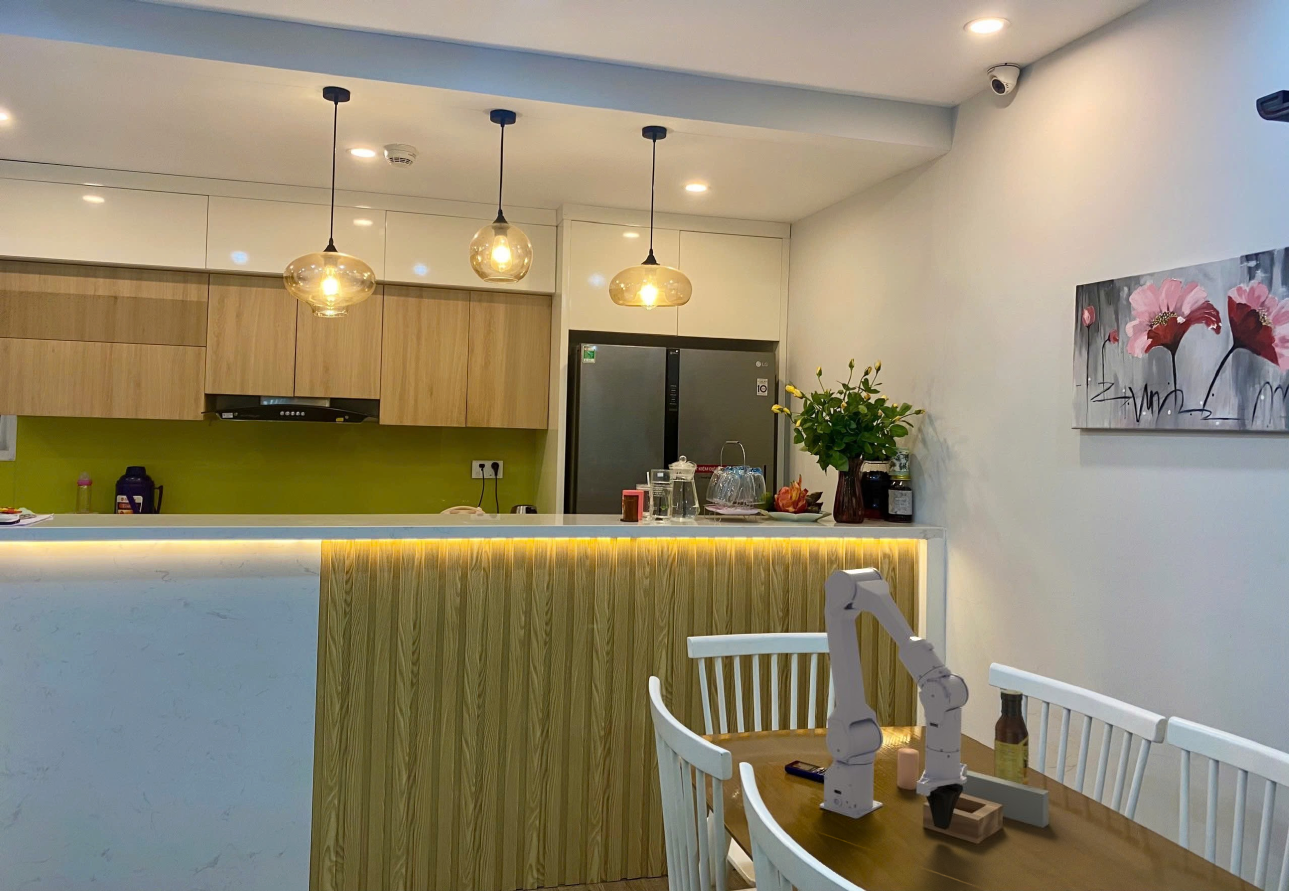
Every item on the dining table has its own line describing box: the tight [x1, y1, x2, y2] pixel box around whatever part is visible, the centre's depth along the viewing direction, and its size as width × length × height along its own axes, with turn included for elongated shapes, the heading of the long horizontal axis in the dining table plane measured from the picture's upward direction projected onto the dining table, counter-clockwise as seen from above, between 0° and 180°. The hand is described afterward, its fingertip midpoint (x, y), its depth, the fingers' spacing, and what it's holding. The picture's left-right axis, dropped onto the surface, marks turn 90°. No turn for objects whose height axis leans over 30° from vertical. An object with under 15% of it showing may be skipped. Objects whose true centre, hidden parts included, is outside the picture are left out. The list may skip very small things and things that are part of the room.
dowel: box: [896, 747, 920, 791], centre depth 187 cm, size 4×4×7 cm
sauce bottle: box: [993, 689, 1030, 786], centre depth 184 cm, size 7×6×20 cm
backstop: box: [956, 769, 1050, 829], centre depth 175 cm, size 2×20×6 cm, turn 46°
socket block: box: [922, 793, 1004, 845], centre depth 167 cm, size 10×10×4 cm
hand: (941, 827), depth 161 cm, fingers closed
